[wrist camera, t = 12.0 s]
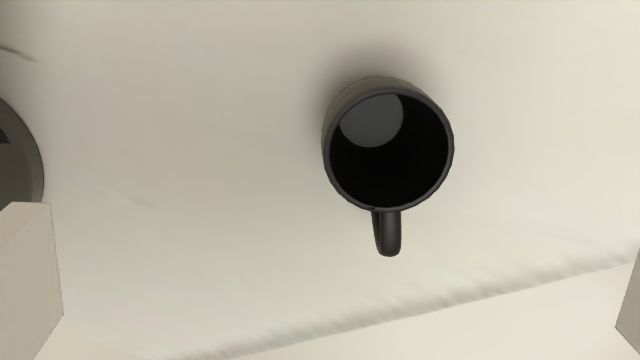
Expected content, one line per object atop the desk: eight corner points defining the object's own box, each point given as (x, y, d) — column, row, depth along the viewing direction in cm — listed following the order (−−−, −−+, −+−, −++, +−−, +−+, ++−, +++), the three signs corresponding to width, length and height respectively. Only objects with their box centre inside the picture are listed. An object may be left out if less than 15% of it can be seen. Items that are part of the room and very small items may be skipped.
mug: (321, 210, 45) (326, 268, 36) (316, 64, 40) (320, 89, 31) (419, 205, 45) (448, 262, 36) (424, 60, 41) (459, 84, 32)
